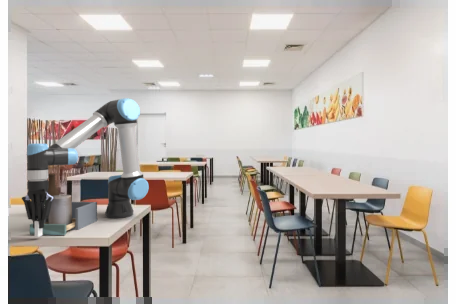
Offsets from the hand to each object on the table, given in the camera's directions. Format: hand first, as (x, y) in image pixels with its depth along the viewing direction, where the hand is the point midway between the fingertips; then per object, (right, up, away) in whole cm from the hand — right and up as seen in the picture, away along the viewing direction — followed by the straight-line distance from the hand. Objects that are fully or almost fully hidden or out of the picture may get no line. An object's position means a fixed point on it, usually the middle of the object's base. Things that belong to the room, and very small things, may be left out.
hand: (38, 235), depth 125 cm
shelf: (+1, -1, +14) cm, 14 cm away
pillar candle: (0, 0, +16) cm, 16 cm away
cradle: (+1, -1, +24) cm, 24 cm away
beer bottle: (-22, -1, +47) cm, 52 cm away
